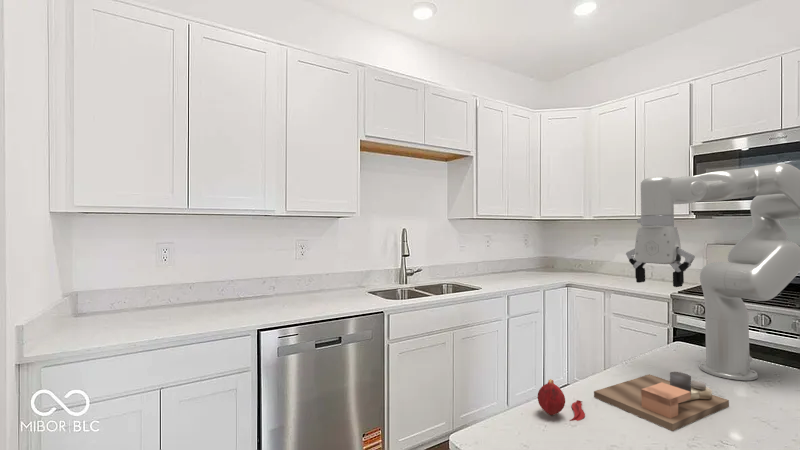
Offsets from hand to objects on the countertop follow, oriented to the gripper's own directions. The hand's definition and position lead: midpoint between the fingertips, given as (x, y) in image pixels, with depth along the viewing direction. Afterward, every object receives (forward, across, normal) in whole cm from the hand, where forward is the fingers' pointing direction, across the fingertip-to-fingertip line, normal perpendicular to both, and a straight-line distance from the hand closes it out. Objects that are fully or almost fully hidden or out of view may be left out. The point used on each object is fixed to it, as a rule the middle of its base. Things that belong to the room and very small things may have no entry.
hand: (658, 284), depth 105 cm
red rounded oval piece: (+26, 0, -42) cm, 50 cm away
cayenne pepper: (+27, +2, -35) cm, 44 cm away
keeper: (+25, +12, -20) cm, 34 cm away
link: (+24, +11, -11) cm, 29 cm away
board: (+26, +8, -14) cm, 31 cm away
